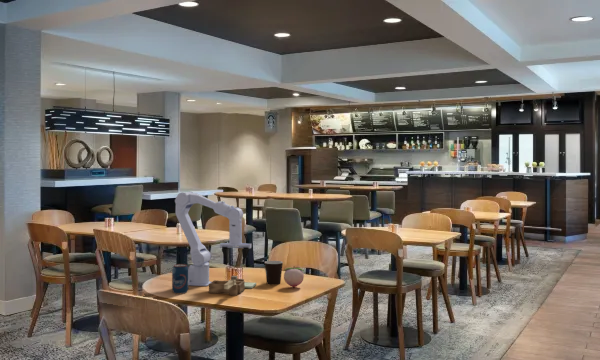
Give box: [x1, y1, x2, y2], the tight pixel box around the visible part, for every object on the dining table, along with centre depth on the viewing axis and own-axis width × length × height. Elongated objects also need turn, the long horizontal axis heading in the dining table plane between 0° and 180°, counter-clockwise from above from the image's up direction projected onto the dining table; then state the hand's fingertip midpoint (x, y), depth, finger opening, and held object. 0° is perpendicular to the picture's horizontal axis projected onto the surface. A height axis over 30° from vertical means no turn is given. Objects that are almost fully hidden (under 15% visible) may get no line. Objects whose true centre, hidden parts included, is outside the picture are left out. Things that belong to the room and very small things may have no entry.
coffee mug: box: [264, 260, 284, 286], centre depth 273 cm, size 12×9×10 cm
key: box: [224, 279, 236, 289], centre depth 242 cm, size 3×10×2 cm, turn 171°
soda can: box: [171, 263, 189, 294], centre depth 253 cm, size 7×7×12 cm
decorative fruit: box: [283, 267, 305, 288], centre depth 263 cm, size 9×8×10 cm
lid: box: [230, 275, 257, 289], centre depth 265 cm, size 14×8×5 cm, turn 81°
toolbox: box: [208, 278, 246, 297], centre depth 254 cm, size 14×13×5 cm
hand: (235, 263), depth 266 cm, fingers open, 7 cm apart
